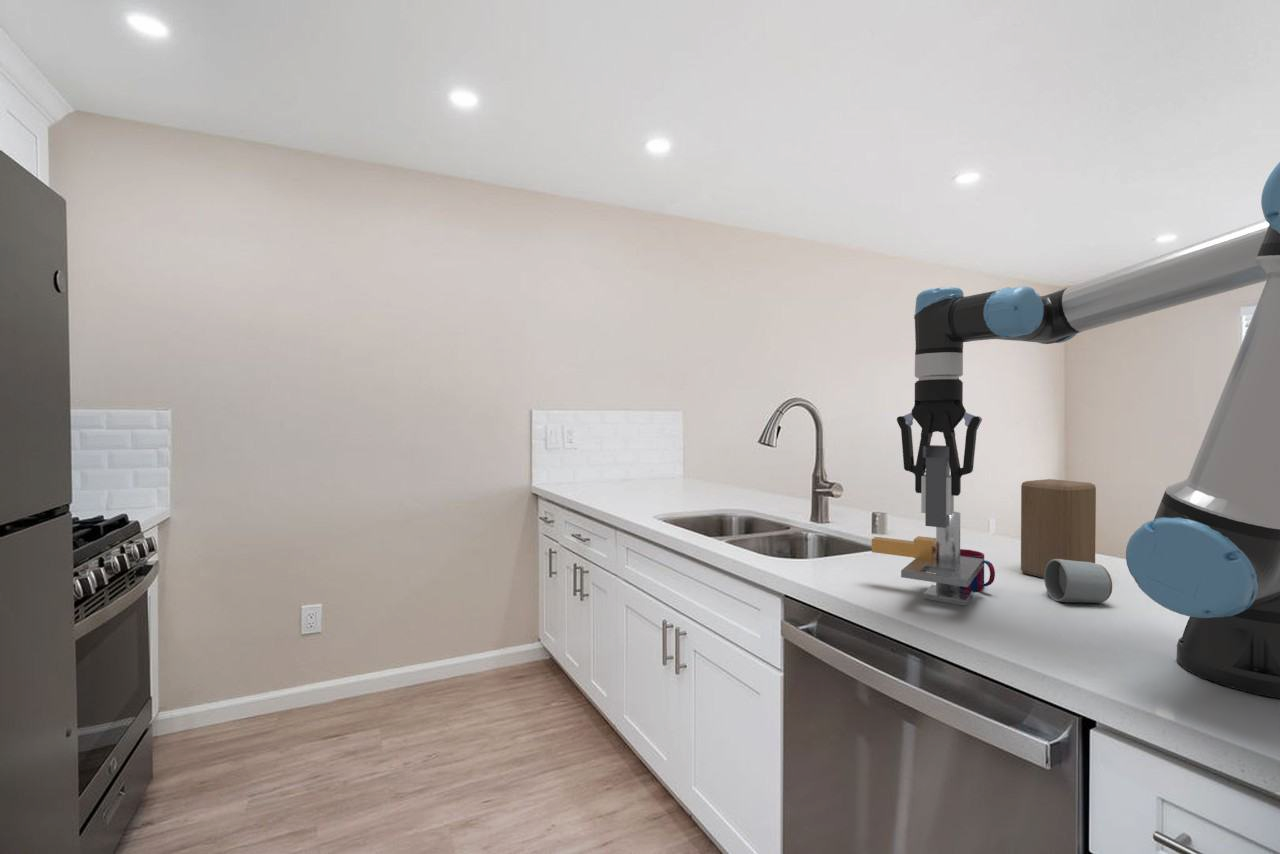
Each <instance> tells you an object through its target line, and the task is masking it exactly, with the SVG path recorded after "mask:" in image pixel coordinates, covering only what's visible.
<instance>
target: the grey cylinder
mask: <svg viewBox="0 0 1280 854" xmlns="http://www.w3.org/2000/svg"><path fill="white" fill-rule="evenodd" d="M1043 579H1044V586H1045V589H1046V592H1047V593H1048V596H1049V597H1050V598H1051V599H1052V600H1053V601H1055V602H1058V603H1081V604H1082V603H1085V604H1098V603H1104V602H1106V601H1108V599H1109V598H1110V597H1111V595H1112V594H1113V593H1112V592H1113V579H1112V577H1111V575H1110V573H1109V571H1108V570H1107V568H1105V567H1104V566H1103V565H1102V564H1099V563H1096V562H1095V563H1091V562H1082V561H1072V560H1062V559H1052V560H1051V561H1049V563H1048V564H1047V566H1046V569H1045V574H1044V578H1043Z"/></svg>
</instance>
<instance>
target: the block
mask: <svg viewBox="0 0 1280 854" xmlns="http://www.w3.org/2000/svg"><path fill="white" fill-rule="evenodd" d="M1020 488H1021V490H1020V493H1021V494H1020V496H1021V497H1020V499H1021V500H1020V501H1021V502H1020V503H1021V504H1020V506H1021V507H1020V514H1021V515H1020V571H1021V573H1023V574H1025V575H1028V574H1029V575H1028V576H1032V575H1034V576H1033V577H1036V576H1038V577H1037V578H1041V577H1042V579H1044V574H1045V569H1046V566H1047V564H1048V563H1049V561H1051V560H1052V559H1062V560H1072V561H1082V562H1091V563H1095V564H1096V534H1097V533H1096V527H1097V526H1096V520H1097V519H1096V512H1097V510H1096V509H1097V507H1096V506H1097V502H1096V501H1097V487H1096V485H1095V484H1094V483H1092V482H1085V481H1074V480H1064V479H1055V478H1048V479H1037V480H1027V481H1022V483H1021V485H1020Z"/></svg>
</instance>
